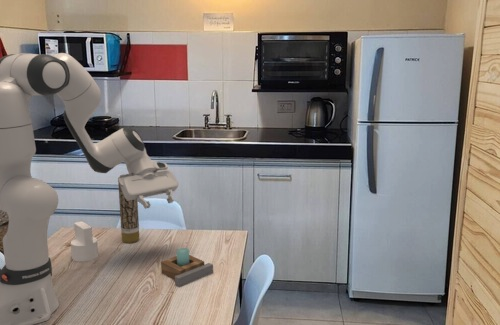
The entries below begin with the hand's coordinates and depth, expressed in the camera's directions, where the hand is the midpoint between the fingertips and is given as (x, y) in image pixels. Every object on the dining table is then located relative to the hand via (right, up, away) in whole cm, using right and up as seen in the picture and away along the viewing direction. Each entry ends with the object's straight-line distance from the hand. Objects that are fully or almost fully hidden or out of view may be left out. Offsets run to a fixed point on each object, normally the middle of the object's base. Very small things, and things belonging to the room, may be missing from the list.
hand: (160, 204), depth 157 cm
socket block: (+8, -22, -3) cm, 24 cm away
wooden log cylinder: (-17, -17, +28) cm, 37 cm away
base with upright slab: (-29, -20, +13) cm, 38 cm away
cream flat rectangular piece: (+6, -23, -1) cm, 24 cm away
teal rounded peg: (+8, -22, -3) cm, 24 cm away
